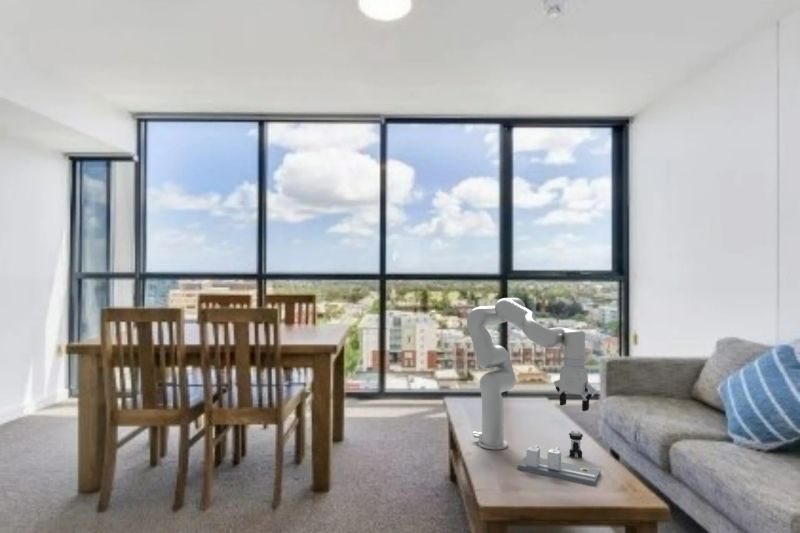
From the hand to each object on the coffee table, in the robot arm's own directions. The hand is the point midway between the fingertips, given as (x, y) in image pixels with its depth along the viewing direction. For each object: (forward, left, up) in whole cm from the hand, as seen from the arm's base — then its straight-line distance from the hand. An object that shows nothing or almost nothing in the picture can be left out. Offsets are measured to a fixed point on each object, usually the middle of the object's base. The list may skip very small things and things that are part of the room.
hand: (573, 407), depth 196 cm
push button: (-3, +15, -24) cm, 29 cm away
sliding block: (-6, -4, -22) cm, 23 cm away
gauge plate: (-5, -4, -24) cm, 25 cm away
